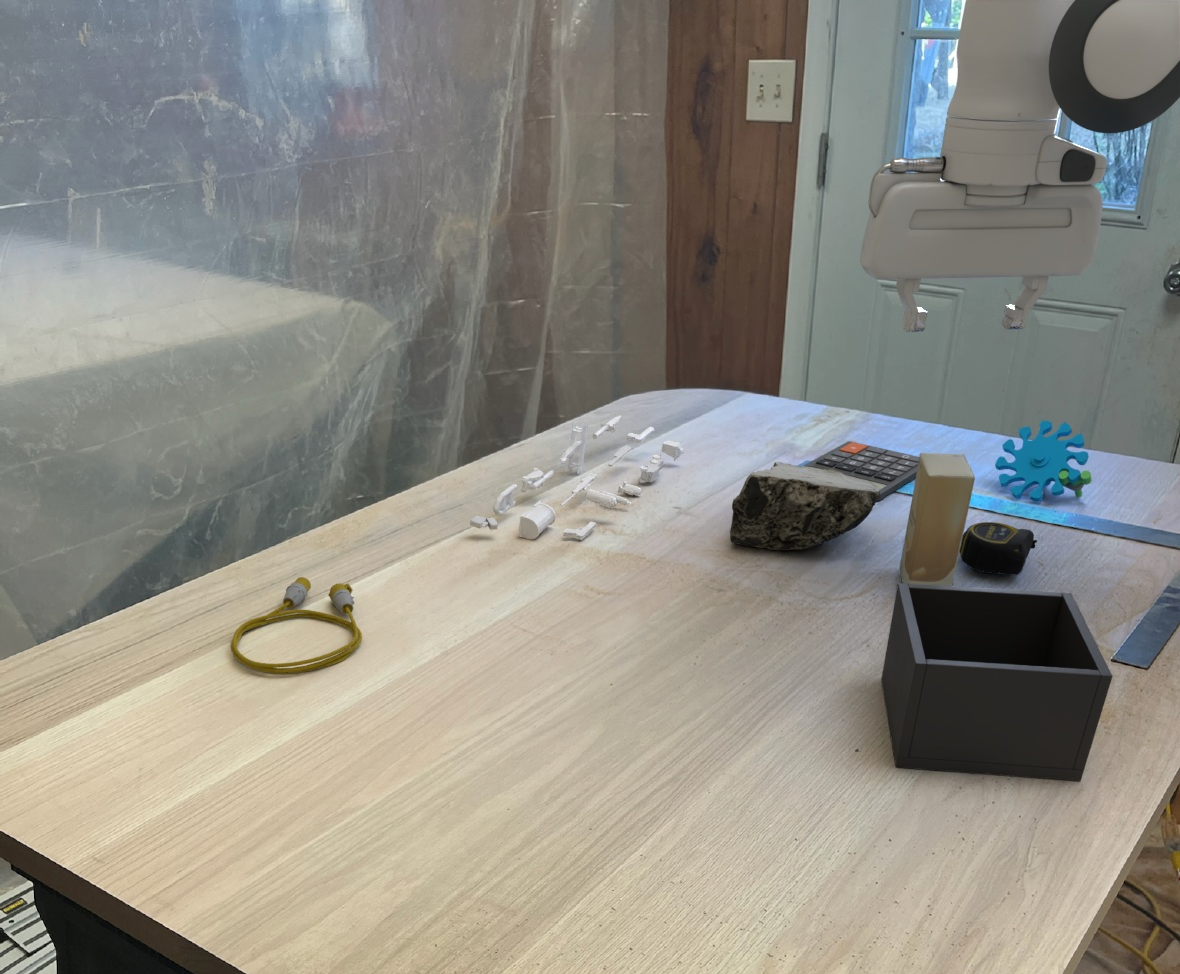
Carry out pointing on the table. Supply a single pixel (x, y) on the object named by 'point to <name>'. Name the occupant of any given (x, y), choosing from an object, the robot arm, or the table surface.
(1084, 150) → the robot arm
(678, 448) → the miniature set
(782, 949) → the table surface
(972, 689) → the open box
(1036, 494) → the gear
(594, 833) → the table surface
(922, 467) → the cosmetic box
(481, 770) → the table surface
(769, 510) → the concrete fragment
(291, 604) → the extension cord
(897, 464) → the calculator
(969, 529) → the tape measure
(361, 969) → the table surface
